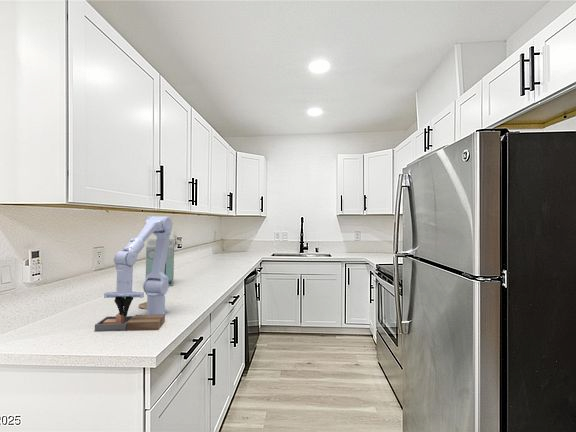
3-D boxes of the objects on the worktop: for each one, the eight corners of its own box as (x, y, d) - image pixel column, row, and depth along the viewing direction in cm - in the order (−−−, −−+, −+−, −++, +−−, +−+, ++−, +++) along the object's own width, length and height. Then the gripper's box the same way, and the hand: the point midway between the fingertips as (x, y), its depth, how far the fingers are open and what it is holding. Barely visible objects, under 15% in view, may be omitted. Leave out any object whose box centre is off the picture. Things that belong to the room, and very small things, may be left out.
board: (135, 322, 149) (136, 314, 149) (164, 321, 150) (164, 314, 151) (126, 330, 137) (126, 322, 137) (157, 329, 139) (158, 322, 139)
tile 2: (124, 323, 145) (119, 323, 144) (124, 312, 145) (119, 312, 145) (120, 327, 140) (115, 327, 140) (121, 315, 140) (115, 315, 140)
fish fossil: (150, 298, 197) (151, 296, 197) (169, 299, 198) (170, 297, 198) (136, 308, 171) (136, 306, 171) (158, 310, 172) (158, 307, 172)
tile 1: (119, 318, 145) (119, 323, 145) (107, 318, 144) (107, 324, 144) (115, 321, 140) (115, 326, 140) (103, 322, 140) (103, 327, 140)
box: (106, 322, 148) (106, 316, 148) (135, 322, 149) (135, 316, 149) (94, 331, 136) (94, 324, 136) (125, 330, 137) (125, 324, 137)
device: (145, 287, 229) (146, 239, 230) (147, 284, 237) (148, 239, 238) (172, 286, 233) (173, 239, 234) (173, 284, 241) (174, 239, 241)
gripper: (101, 283, 138) (100, 318, 138) (140, 282, 140) (139, 318, 140) (108, 280, 145) (107, 314, 145) (145, 280, 147) (144, 313, 147)
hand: (123, 315), depth 143 cm, fingers closed
